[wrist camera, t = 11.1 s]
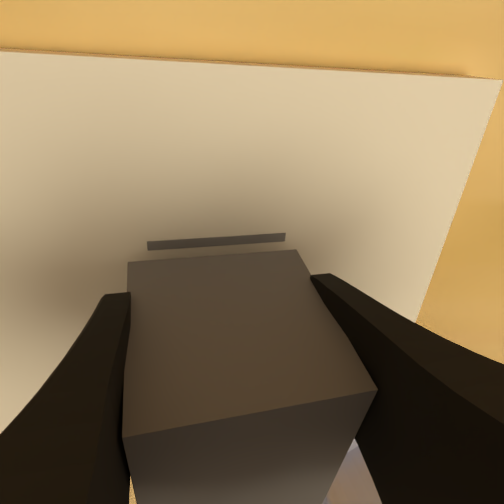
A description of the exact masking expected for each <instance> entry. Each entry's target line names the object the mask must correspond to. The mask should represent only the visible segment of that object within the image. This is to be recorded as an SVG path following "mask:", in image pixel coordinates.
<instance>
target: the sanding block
mask: <svg viewBox="0 0 504 504" xmlns="http://www.w3.org/2000/svg"><path fill="white" fill-rule="evenodd" d="M310 275H311V274H310V272H309V270H308V269H307V267H306V265H305V263H304V262H303V260H302V258H301V257H300V255H299V253H298V251H297V250H296V249H293V250H280V251H267V252H253V253H240V254H227V255H213V256H200V257H186V258H173V259H160V260H146V261H133V262H128V265H127V292H131V326H130V333H129V340H128V348H127V355H126V362H125V369H124V392H123V424H122V440H123V444H124V449H125V453H126V457H127V462H128V466H129V471H130V475H131V480H132V484H133V489H134V493H135V497H136V502H137V504H322V503H323V501H324V499H325V497H326V495H327V493H328V491H329V489H330V487H331V485H332V483H333V481H334V479H335V477H336V475H337V472H338V470H339V468H340V466H341V464H342V462H343V460H344V458H345V456H346V454H347V452H348V450H349V448H350V446H351V444H352V442H353V440H354V438H355V436H356V434H357V432H358V430H359V428H360V425H361V423H362V421H363V419H364V417H365V415H366V413H367V411H368V409H369V407H370V405H371V403H372V401H373V399H374V397H375V395H376V393H377V391H378V389H377V387H376V385H375V384H374V382H373V380H372V379H371V377H370V375H369V373H368V372H367V370H366V368H365V366H364V365H363V363H362V361H361V360H360V358H359V356H358V354H357V353H356V351H355V349H354V348H353V346H352V344H351V342H350V341H349V339H348V337H347V336H346V334H345V333H344V332H343V330H342V329H341V327H340V326H339V324H338V323H337V322H336V320H335V319H334V317H333V316H332V314H331V313H330V311H329V310H328V309H327V307H326V306H325V304H324V303H323V301H322V299H321V297H320V296H319V294H318V292H317V290H316V289H315V287H314V285H313V283H312V282H311V280H310Z"/></svg>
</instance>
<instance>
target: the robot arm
mask: <svg viewBox="0 0 504 504" xmlns="http://www.w3.org/2000/svg"><path fill="white" fill-rule="evenodd" d="M310 280H311V282H312V283H313V285H314V287H315V289H316V290H317V292H318V294H319V296H320V297H321V299H322V301H323V303H324V304H325V306H326V307H327V309H328V310H329V311H330V313H331V314H332V316H333V317H334V319H335V320H336V322H337V323H338V324H339V326H340V327H341V329H342V330H343V332H344V333H345V334H346V336H347V337H348V339H349V341H350V342H351V344H352V346H353V348H354V349H355V351H356V353H357V354H358V356H359V358H360V360H361V361H362V363H363V365H364V366H365V368H366V370H367V372H368V373H369V375H370V377H371V379H372V380H373V382H374V384H375V385H376V387H377V389H378V391H377V393H376V395H375V397H374V399H373V401H372V403H371V405H370V407H369V409H368V411H367V413H366V415H365V417H364V419H363V421H362V423H361V425H360V428H359V430H358V432H357V434H356V436H355V438H354V440H353V442H352V444H351V446H350V448H349V450H348V452H347V454H346V456H345V458H344V460H343V462H342V464H341V466H340V468H339V470H338V472H337V475H336V477H335V479H334V481H333V483H332V485H331V487H330V489H329V491H328V493H327V495H326V497H325V499H324V501H323V503H322V504H504V364H502V363H499V362H496V361H494V360H491V359H489V358H487V357H484V356H482V355H480V354H477V353H475V352H473V351H471V350H468V349H466V348H464V347H462V346H460V345H458V344H455V343H453V342H451V341H449V340H447V339H445V338H443V337H441V336H439V335H437V334H435V333H433V332H431V331H429V330H427V329H425V328H424V327H422V326H420V325H418V324H416V323H414V322H412V321H411V320H409V319H407V318H405V317H404V316H402V315H400V314H398V313H397V312H395V311H393V310H391V309H390V308H388V307H386V306H385V305H383V304H381V303H380V302H378V301H376V300H375V299H373V298H372V297H370V296H368V295H367V294H365V293H363V292H362V291H360V290H359V289H357V288H355V287H354V286H352V285H350V284H349V283H347V282H345V281H344V280H342V279H340V278H338V277H337V276H335V275H333V274H331V273H325V274H315V275H310ZM130 326H131V292H123V293H112V294H105V295H104V296H103V297H102V298H101V299H100V301H99V303H98V305H97V307H96V308H95V310H94V312H93V314H92V315H91V317H90V319H89V320H88V322H87V323H86V325H85V327H84V328H83V330H82V331H81V333H80V334H79V336H78V337H77V339H76V340H75V342H74V343H73V345H72V346H71V348H70V349H69V351H68V352H67V354H66V355H65V356H64V358H63V359H62V361H61V362H60V363H59V364H58V366H57V367H56V368H55V370H54V371H53V372H52V374H51V375H50V376H49V377H48V379H47V380H46V381H45V383H44V384H43V385H42V387H41V388H40V389H39V390H38V392H37V393H36V394H35V395H34V396H33V398H32V399H31V400H30V401H29V402H28V403H27V405H26V406H25V407H24V408H23V409H22V410H21V412H20V413H19V414H18V415H17V416H16V417H15V418H14V419H13V420H12V422H11V423H10V424H9V425H8V426H7V427H6V428H5V429H4V430H3V431H2V432H1V434H0V504H129V490H130V471H129V466H128V462H127V457H126V453H125V449H124V444H123V440H122V424H123V392H124V369H125V362H126V355H127V348H128V340H129V333H130Z"/></svg>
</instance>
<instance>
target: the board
mask: <svg viewBox="0 0 504 504" xmlns="http://www.w3.org/2000/svg"><path fill="white" fill-rule="evenodd" d="M502 83H503V80H499V79H490V78H482V77H474V76H464V75H447V74H430V73H413V72H396V71H379V70H362V69H345V68H328V67H311V66H294V65H277V64H260V63H243V62H226V61H209V60H192V59H175V58H158V57H141V56H124V55H107V54H90V53H73V52H56V51H39V50H22V49H5V48H0V434H1V432H2V431H3V430H4V429H5V428H6V427H7V426H8V425H9V424H10V423H11V422H12V420H13V419H14V418H15V417H16V416H17V415H18V414H19V413H20V412H21V410H22V409H23V408H24V407H25V406H26V405H27V403H28V402H29V401H30V400H31V399H32V398H33V396H34V395H35V394H36V393H37V392H38V390H39V389H40V388H41V387H42V385H43V384H44V383H45V381H46V380H47V379H48V377H49V376H50V375H51V374H52V372H53V371H54V370H55V368H56V367H57V366H58V364H59V363H60V362H61V361H62V359H63V358H64V356H65V355H66V354H67V352H68V351H69V349H70V348H71V346H72V345H73V343H74V342H75V340H76V339H77V337H78V336H79V334H80V333H81V331H82V330H83V328H84V327H85V325H86V323H87V322H88V320H89V319H90V317H91V315H92V314H93V312H94V310H95V308H96V307H97V305H98V303H99V301H100V299H101V298H102V297H103V296H104V295H105V294H112V293H123V292H127V265H128V262H133V261H146V260H160V259H173V258H186V257H200V256H213V255H227V254H240V253H253V252H267V251H280V250H293V249H296V250H297V251H298V253H299V255H300V257H301V258H302V260H303V262H304V263H305V265H306V267H307V269H308V270H309V272H310V274H311V275H315V274H325V273H331V274H333V275H335V276H337V277H338V278H340V279H342V280H344V281H345V282H347V283H349V284H350V285H352V286H354V287H355V288H357V289H359V290H360V291H362V292H363V293H365V294H367V295H368V296H370V297H372V298H373V299H375V300H376V301H378V302H380V303H381V304H383V305H385V306H386V307H388V308H390V309H391V310H393V311H395V312H397V313H398V314H400V315H402V316H404V317H405V318H407V319H409V320H411V321H412V322H414V323H415V322H416V319H417V316H418V314H419V311H420V308H421V305H422V303H423V300H424V297H425V294H426V292H427V289H428V286H429V283H430V281H431V278H432V275H433V272H434V270H435V267H436V264H437V261H438V259H439V256H440V253H441V250H442V248H443V245H444V242H445V239H446V237H447V234H448V231H449V228H450V226H451V223H452V220H453V217H454V215H455V212H456V209H457V206H458V204H459V201H460V198H461V195H462V193H463V190H464V187H465V184H466V182H467V179H468V176H469V173H470V171H471V168H472V165H473V162H474V160H475V157H476V154H477V151H478V149H479V146H480V143H481V140H482V138H483V135H484V132H485V129H486V127H487V124H488V121H489V118H490V116H491V113H492V110H493V107H494V105H495V102H496V99H497V96H498V94H499V91H500V88H501V85H502Z"/></svg>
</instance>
